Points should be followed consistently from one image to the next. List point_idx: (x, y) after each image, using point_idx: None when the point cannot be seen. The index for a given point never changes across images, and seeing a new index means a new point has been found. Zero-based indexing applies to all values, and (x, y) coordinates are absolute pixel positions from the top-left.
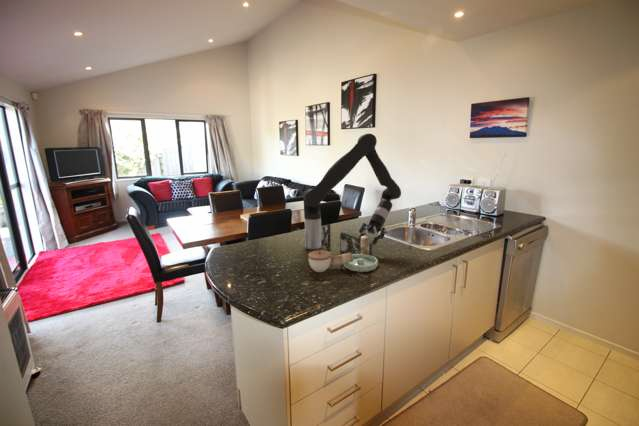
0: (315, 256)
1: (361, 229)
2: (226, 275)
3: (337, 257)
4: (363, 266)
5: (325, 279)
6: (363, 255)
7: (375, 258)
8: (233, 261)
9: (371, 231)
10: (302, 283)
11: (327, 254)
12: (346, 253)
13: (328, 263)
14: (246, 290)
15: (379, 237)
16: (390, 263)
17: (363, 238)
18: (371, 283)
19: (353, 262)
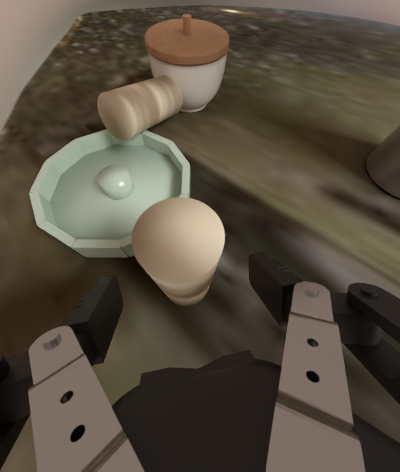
0: (174, 21)
1: (390, 316)
2: (274, 16)
3: (145, 80)
4: (62, 148)
5: None
6: None
7: (62, 235)
8: (342, 32)
9: (187, 374)
10: None
11: (161, 41)
12: (126, 89)
13: (152, 73)
14: (197, 15)
15: (15, 358)
16: (7, 306)
17: (163, 200)
18: (6, 133)
19: (145, 174)
